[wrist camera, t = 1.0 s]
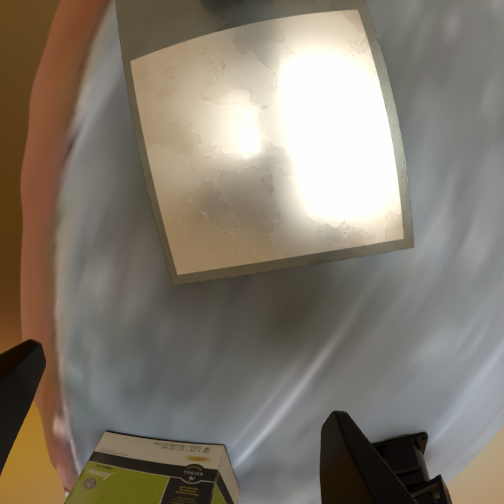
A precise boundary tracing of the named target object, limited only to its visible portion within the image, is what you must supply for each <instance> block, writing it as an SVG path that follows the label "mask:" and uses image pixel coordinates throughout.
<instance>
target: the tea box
mask: <svg viewBox="0 0 504 504" xmlns="http://www.w3.org/2000/svg"><path fill="white" fill-rule="evenodd" d="M239 492H240V489H239V486H238V484H237V481H236V479H235V476H234V473H233V470H232V467H231V464H230V461H229V459H228V455H227V453H226V450H225V448H224V446H223V445H205V444H191V443H179V442H170V441H161V440H153V439H145V438H138V437H132V436H126V435H120V434H115V433H110V432H105V433H104V434H103V436H102V437H101V439H100V441H99V443H98V444H97V446H96V448H95V449H94V451H93V453H92V455H91V457H90V458H89V460H88V461H87V463H86V465H85V467H84V468H83V470H82V472H81V474H80V476H79V477H78V479H77V481H76V482H75V484H74V486H73V488H72V490H71V492H70V493H69V495H68V497H67V499H66V501H65V502H64V504H238V501H239Z"/></svg>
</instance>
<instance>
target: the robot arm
mask: <svg viewBox="0 0 504 504" xmlns="http://www.w3.org/2000/svg"><path fill="white" fill-rule="evenodd" d="M45 366H46V359H45V355H44V351H43V347H42V344H41V343H40V342H37V341H35V340H33V339H28V340H26V341H24V342H22V343H21V344H19V345H17V346H15V347H13V348H11V349H9V350H7V351H5V352H3V353H2V354H0V475H1V472H2V470H3V467H4V465H5V462H6V460H7V458H8V455H9V453H10V450H11V448H12V446H13V443H14V441H15V439H16V437H17V434H18V432H19V430H20V428H21V426H22V423H23V421H24V419H25V417H26V415H27V413H28V411H29V409H30V406H31V404H32V401H33V399H34V396H35V393H36V390H37V388H38V385H39V382H40V380H41V377H42V375H43V372H44V370H45ZM427 439H428V435H427V433H421V434H417V435H413V436H409V437H405V438H401V439H396V440H392V441H387V442H382V443H377V444H371V443H370V442H369V441H368V439H367V438H366V437H365V435H364V434H363V433H362V431H361V430H360V429H359V427H358V426H357V425H356V424H355V422H354V421H353V420H352V418H351V417H350V416H349V414H348V413H347V412H345V411H333V412H332V413H331V414H330V415H329V417H328V418H327V420H326V421H325V423H324V424H323V426H322V429H321V450H320V486H321V500H322V504H452V501H451V498H450V495H449V491H448V489H447V486H446V484H445V482H444V480H443V478H442V476H441V474H440V475H438V476H436V477H435V478H433V479H431V480H430V478H429V475H428V471H427V468H426V464H425V461H424V458H423V455H424V451H425V447H426V443H427Z"/></svg>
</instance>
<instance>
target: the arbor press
mask: <svg viewBox="0 0 504 504" xmlns="http://www.w3.org/2000/svg"><path fill="white" fill-rule="evenodd" d="M116 10H117V20H118V28H119V37H120V44H121V52H122V59H123V66H124V73H125V79H126V85H127V91H128V97H129V103H130V108H131V114H132V119H133V124H134V130H135V135H136V140H137V145H138V149H139V154H140V159H141V163H142V168H143V172H144V177H145V181H146V185H147V190H148V194H149V198H150V202H151V206H152V210H153V214H154V218H155V222H156V226H157V230H158V234H159V237H160V241H161V245H162V248H163V252H164V256H165V259H166V263H167V266H168V270H169V273H170V276H171V280H172V283H173V285H179V284H186V283H193V282H200V281H207V280H214V279H221V278H228V277H235V276H241V275H248V274H255V273H261V272H268V271H274V270H281V269H287V268H294V267H300V266H306V265H312V264H319V263H325V262H331V261H337V260H343V259H349V258H355V257H361V256H367V255H373V254H379V253H385V252H390V251H396V250H402V249H408V248H413V247H414V235H413V222H412V211H411V201H410V192H409V183H408V176H407V168H406V161H405V155H404V149H403V143H402V137H401V132H400V126H399V121H398V116H397V111H396V107H395V102H394V98H393V93H392V89H391V85H390V81H389V77H388V73H387V69H386V65H385V62H384V58H383V55H382V51H381V48H380V44H379V41H378V38H377V35H376V31H375V28H374V25H373V22H372V19H371V16H370V13H369V11H368V8H367V5H366V2H365V0H116Z"/></svg>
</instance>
